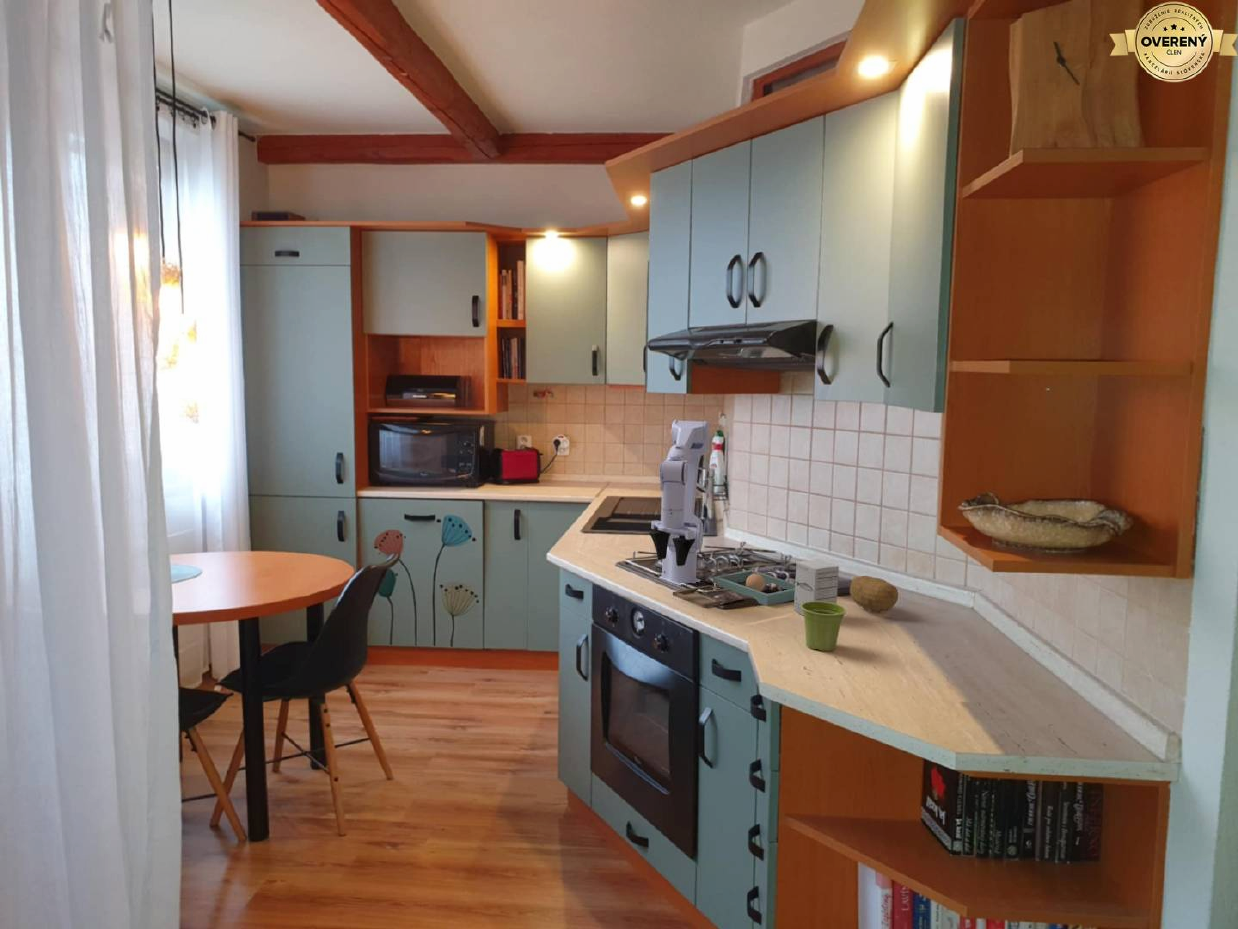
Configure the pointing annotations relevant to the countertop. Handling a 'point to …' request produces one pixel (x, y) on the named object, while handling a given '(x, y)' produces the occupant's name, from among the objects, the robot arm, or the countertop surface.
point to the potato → (873, 593)
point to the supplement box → (815, 583)
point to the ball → (755, 582)
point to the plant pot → (822, 624)
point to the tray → (766, 599)
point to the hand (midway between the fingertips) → (671, 562)
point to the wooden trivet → (697, 597)
